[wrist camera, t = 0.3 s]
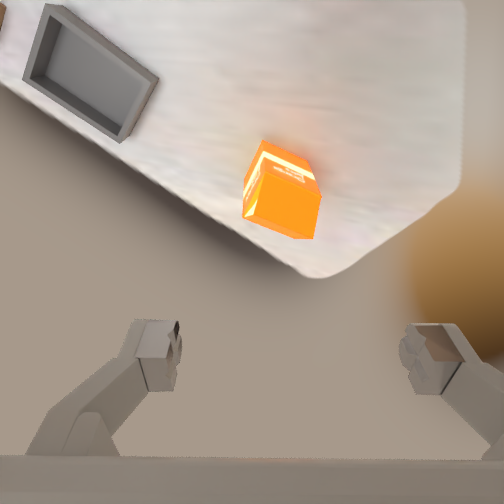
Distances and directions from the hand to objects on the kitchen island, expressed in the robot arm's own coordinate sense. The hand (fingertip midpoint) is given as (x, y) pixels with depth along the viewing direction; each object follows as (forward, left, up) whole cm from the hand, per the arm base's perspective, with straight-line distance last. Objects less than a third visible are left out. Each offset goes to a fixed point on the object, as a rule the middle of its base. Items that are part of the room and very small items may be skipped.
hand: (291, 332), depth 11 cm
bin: (-2, -25, -47) cm, 53 cm away
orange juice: (+12, +3, -47) cm, 49 cm away
